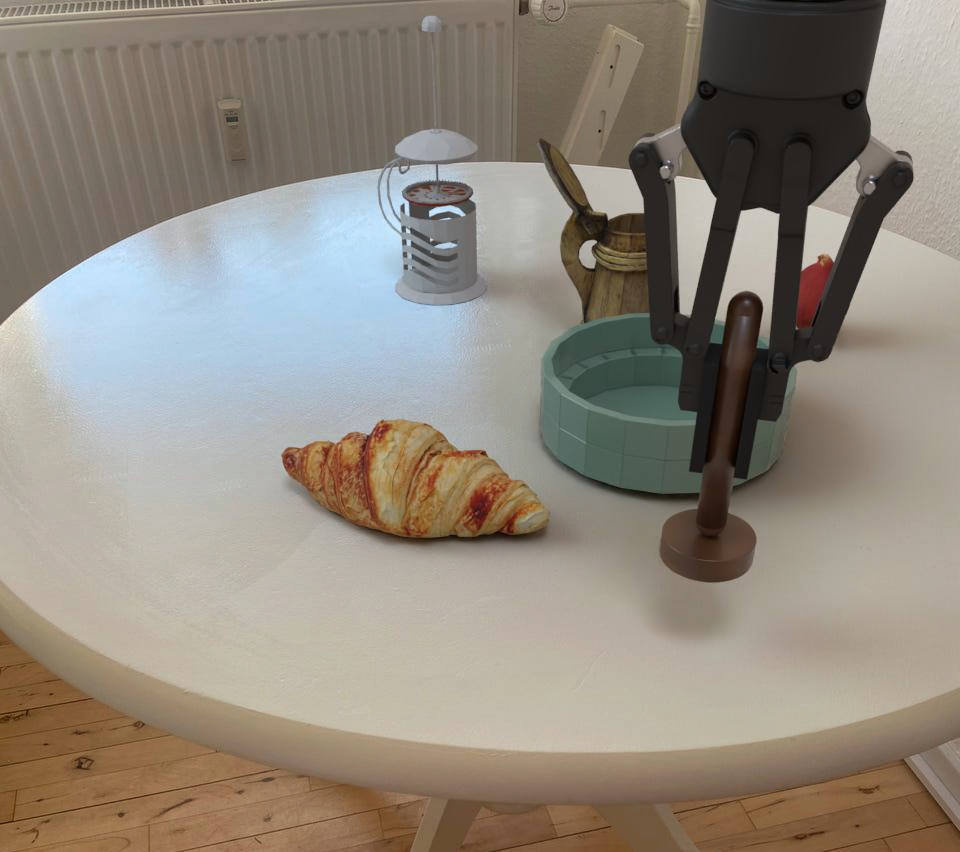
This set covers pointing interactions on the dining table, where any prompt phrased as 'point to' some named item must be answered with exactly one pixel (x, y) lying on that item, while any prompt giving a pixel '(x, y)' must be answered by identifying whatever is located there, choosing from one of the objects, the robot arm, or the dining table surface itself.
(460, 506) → the croissant
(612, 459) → the bowl
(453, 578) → the dining table surface
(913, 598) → the dining table surface
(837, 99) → the robot arm
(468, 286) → the french press
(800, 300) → the onion
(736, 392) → the wooden paper towel stand
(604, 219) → the wooden mug
